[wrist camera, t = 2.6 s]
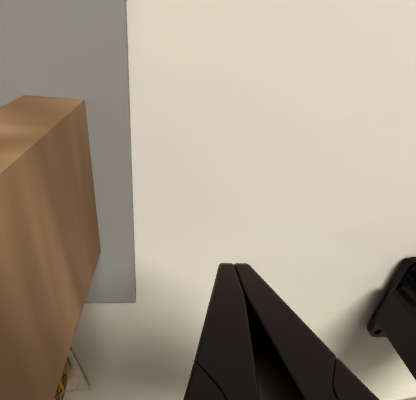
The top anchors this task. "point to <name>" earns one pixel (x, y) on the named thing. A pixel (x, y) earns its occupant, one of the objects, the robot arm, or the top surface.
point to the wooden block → (43, 240)
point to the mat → (95, 108)
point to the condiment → (71, 378)
